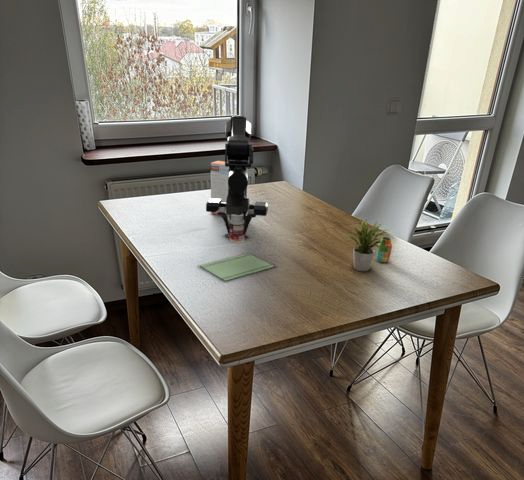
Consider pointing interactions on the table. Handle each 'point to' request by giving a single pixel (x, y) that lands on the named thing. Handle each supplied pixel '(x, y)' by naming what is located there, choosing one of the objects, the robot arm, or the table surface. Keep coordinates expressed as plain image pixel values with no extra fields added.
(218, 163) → the cracker box
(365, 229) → the house plant
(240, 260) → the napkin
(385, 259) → the colorful patterned jar
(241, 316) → the table surface
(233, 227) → the pill bottle
